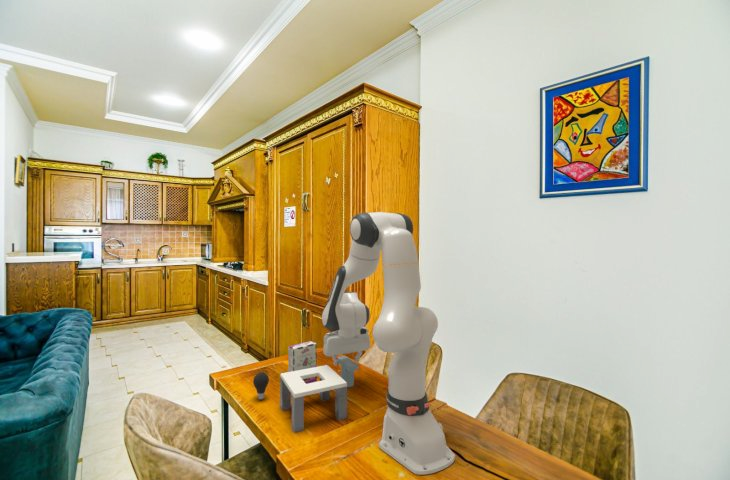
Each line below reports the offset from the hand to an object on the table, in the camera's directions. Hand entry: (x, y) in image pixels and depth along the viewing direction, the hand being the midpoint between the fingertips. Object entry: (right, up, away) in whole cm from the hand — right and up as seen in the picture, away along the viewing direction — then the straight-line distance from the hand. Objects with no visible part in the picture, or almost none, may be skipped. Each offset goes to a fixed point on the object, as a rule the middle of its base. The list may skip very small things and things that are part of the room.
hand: (346, 363), depth 136 cm
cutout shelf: (-11, -9, -22) cm, 26 cm away
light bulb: (-32, -9, -13) cm, 35 cm away
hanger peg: (0, -9, 0) cm, 9 cm away
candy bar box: (-19, -9, +1) cm, 21 cm away
